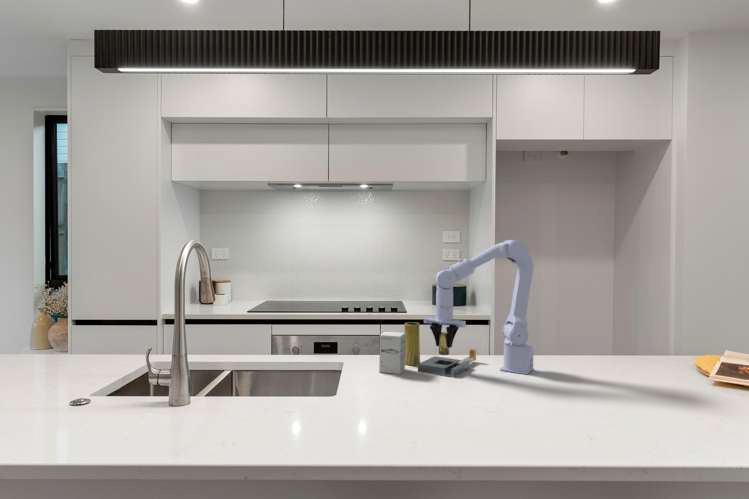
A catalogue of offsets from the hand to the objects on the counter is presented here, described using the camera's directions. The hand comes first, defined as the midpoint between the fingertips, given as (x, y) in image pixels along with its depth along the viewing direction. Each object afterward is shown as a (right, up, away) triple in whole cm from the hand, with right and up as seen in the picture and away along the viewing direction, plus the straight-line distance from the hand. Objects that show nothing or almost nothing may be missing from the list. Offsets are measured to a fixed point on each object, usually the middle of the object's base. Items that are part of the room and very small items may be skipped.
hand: (444, 346), depth 172 cm
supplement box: (-17, -8, -1) cm, 19 cm away
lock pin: (+9, -7, +6) cm, 13 cm away
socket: (0, -8, 0) cm, 8 cm away
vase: (-10, -8, +8) cm, 15 cm away
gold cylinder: (0, -3, 0) cm, 3 cm away
